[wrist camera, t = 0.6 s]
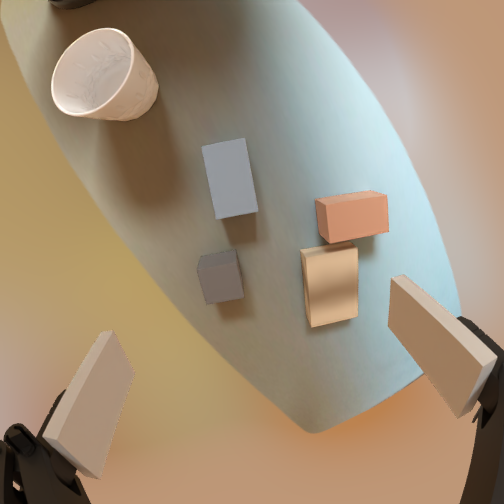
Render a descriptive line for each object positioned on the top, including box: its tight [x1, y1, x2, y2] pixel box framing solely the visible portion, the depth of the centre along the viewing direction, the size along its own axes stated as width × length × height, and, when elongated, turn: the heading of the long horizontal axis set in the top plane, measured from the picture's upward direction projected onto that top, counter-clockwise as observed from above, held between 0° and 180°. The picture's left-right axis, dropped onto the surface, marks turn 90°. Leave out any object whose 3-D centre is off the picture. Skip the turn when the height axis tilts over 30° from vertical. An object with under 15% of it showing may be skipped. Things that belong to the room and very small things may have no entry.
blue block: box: [201, 138, 258, 220], centre depth 27 cm, size 7×4×4 cm, turn 10°
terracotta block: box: [315, 190, 389, 244], centre depth 29 cm, size 7×4×4 cm, turn 101°
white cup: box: [51, 28, 159, 121], centre depth 20 cm, size 8×8×10 cm
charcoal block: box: [197, 250, 244, 304], centre depth 30 cm, size 4×4×4 cm
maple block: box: [300, 241, 358, 327], centre depth 32 cm, size 9×6×3 cm, turn 9°
